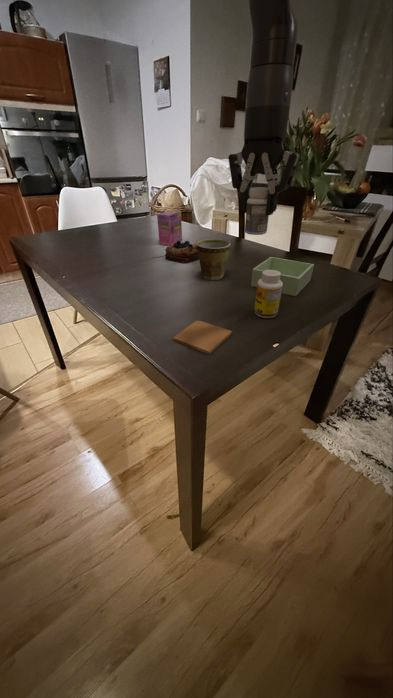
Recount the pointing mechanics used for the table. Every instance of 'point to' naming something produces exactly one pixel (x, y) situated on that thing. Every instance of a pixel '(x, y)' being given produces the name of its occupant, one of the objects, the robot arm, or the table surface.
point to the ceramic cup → (213, 257)
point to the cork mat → (202, 336)
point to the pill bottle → (257, 211)
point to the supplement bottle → (268, 294)
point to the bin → (285, 274)
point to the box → (169, 227)
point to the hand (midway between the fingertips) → (257, 213)
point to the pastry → (182, 252)
